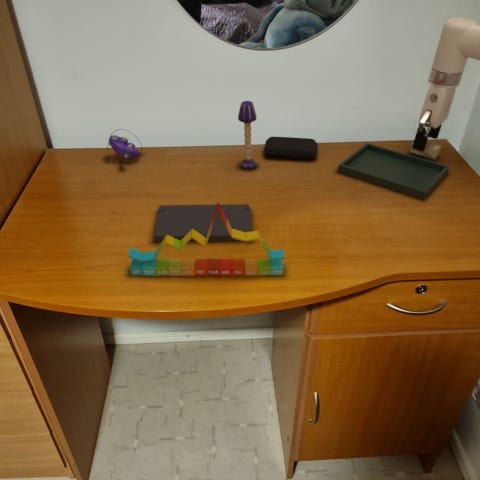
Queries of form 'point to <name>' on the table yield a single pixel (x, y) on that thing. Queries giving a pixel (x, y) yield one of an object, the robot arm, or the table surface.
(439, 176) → the tray
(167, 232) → the notebook
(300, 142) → the carrying case
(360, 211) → the table surface
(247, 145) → the toy lamp
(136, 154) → the purple ringed ornament
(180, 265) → the chart
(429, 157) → the wooden block
